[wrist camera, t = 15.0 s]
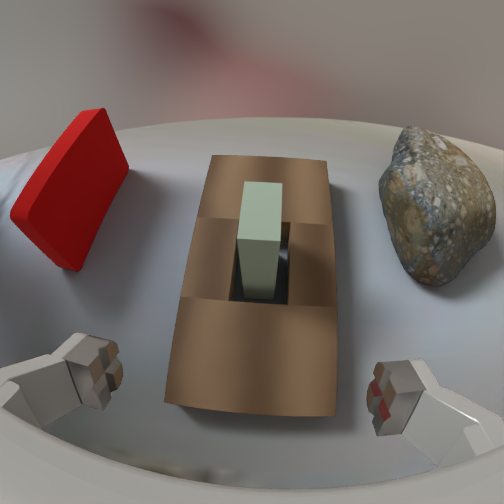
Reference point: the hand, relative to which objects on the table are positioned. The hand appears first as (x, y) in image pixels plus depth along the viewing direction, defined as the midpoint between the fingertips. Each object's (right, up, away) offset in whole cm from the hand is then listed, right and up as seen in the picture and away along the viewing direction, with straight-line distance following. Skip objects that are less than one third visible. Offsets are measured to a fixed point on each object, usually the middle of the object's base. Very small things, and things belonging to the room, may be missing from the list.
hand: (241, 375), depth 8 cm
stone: (+20, +8, +21) cm, 30 cm away
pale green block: (+1, +2, +18) cm, 18 cm away
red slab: (-18, +8, +22) cm, 30 cm away
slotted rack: (+1, +2, +18) cm, 18 cm away
